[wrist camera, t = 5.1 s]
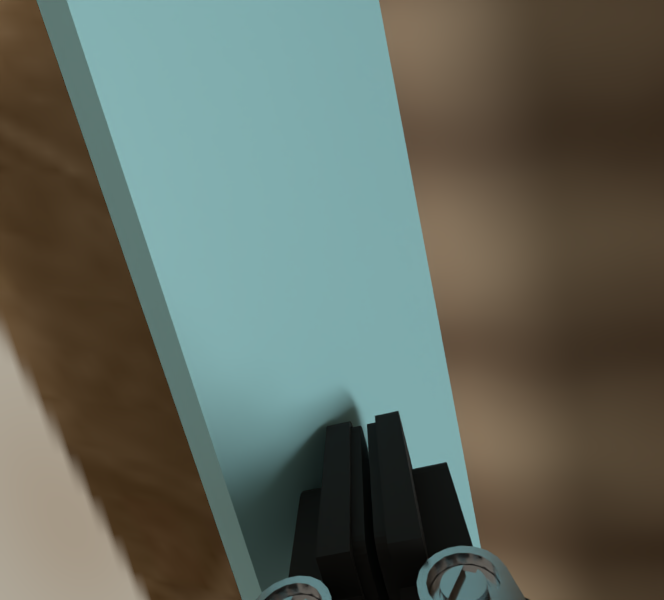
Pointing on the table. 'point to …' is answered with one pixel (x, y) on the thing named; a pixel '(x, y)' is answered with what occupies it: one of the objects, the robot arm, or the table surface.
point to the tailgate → (265, 240)
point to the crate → (547, 272)
